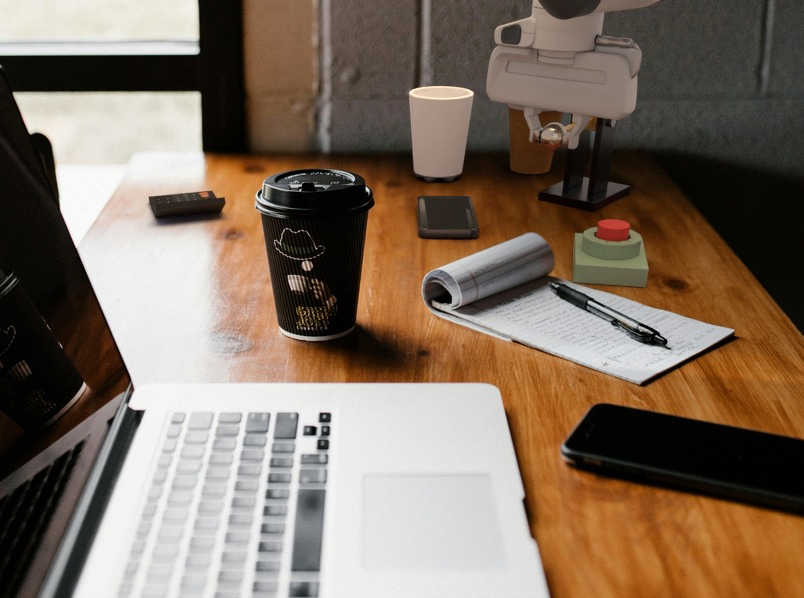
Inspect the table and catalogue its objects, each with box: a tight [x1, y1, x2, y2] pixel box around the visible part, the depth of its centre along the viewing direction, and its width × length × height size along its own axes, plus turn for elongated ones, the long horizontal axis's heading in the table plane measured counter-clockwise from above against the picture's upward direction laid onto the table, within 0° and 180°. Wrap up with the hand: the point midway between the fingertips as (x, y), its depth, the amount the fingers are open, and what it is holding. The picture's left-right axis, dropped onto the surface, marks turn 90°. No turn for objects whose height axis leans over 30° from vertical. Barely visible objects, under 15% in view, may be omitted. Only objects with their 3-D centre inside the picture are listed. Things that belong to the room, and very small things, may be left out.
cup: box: [408, 85, 475, 183], centre depth 133 cm, size 10×10×13 cm
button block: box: [572, 226, 650, 288], centre depth 101 cm, size 11×8×4 cm
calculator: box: [148, 190, 226, 218], centre depth 122 cm, size 9×12×3 cm
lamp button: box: [596, 218, 631, 242], centre depth 100 cm, size 4×4×2 cm
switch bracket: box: [537, 113, 631, 212], centre depth 124 cm, size 11×9×13 cm
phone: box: [416, 194, 480, 239], centre depth 118 cm, size 8×1×15 cm
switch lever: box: [540, 116, 597, 152], centre depth 118 cm, size 14×4×4 cm, turn 139°
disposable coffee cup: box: [506, 104, 564, 175], centre depth 137 cm, size 10×10×12 cm
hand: (552, 144), depth 115 cm, fingers closed on switch lever, 3 cm apart
